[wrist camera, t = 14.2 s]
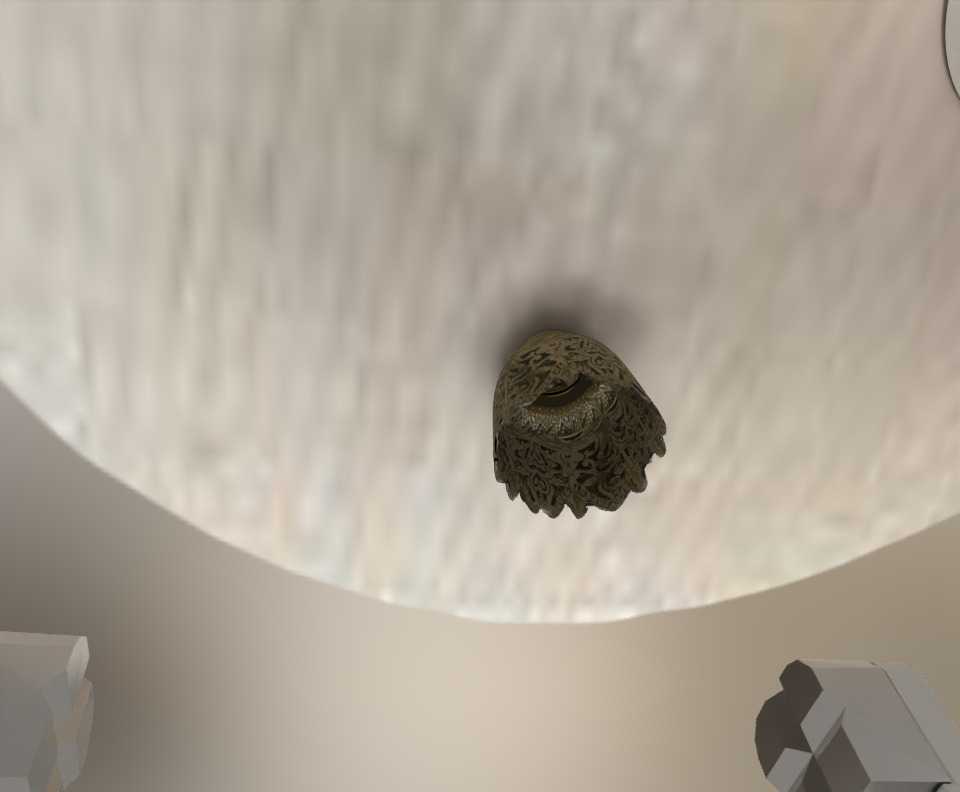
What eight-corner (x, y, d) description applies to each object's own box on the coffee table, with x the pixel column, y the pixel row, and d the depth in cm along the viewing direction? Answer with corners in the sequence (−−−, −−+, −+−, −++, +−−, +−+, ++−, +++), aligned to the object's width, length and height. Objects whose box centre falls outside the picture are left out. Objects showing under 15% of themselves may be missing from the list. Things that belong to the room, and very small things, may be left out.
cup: (509, 270, 39) (537, 362, 33) (646, 313, 41) (699, 407, 35) (453, 396, 43) (468, 502, 36) (581, 430, 45) (618, 535, 39)
